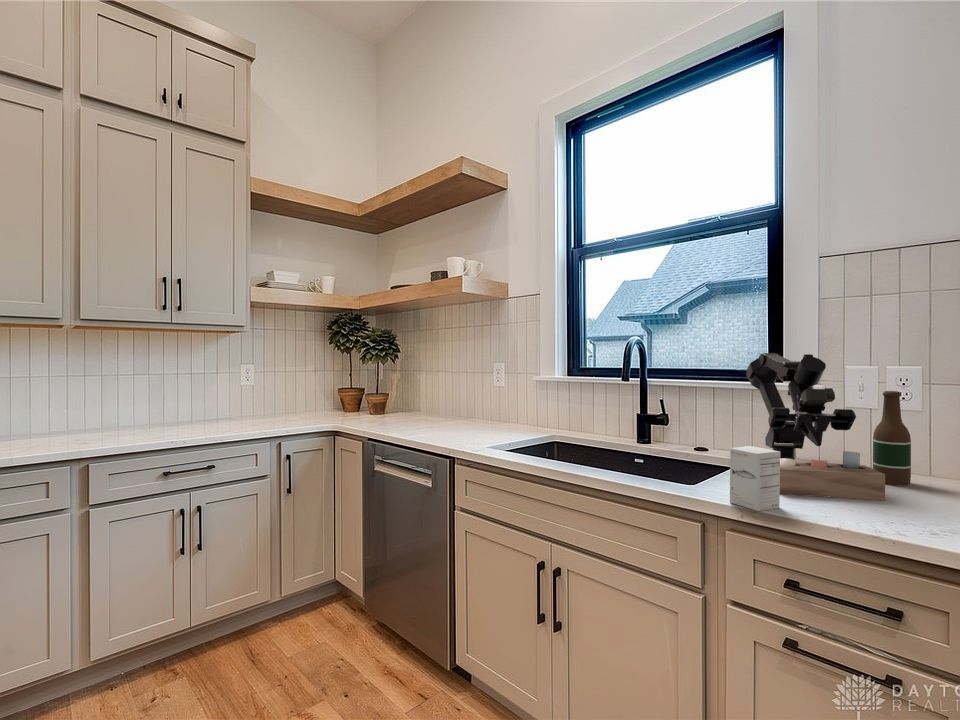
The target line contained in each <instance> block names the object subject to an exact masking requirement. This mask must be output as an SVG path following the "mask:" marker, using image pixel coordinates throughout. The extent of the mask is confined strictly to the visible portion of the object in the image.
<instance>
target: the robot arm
mask: <svg viewBox="0 0 960 720" xmlns="http://www.w3.org/2000/svg"><path fill="white" fill-rule="evenodd" d="M826 366H827V365H826V362H824V361H823V360H822V359H820V358H818V357H816V356H814V355H813V354H812V353H811V354H809V353H808V354H807V353H806V354H803V356H802V358H801V360H800V361H799V360H798V361H796V360H795V361H793V360H790V359H788V358H785V357H783V356H781V355H780V354H779V353H777V352H763V353H760V354H759V356H758V358H756V359H754V360H752V361H751V362H750V363H749V365H748V367H747V369H746V372H745V374H746V378H747V380H748V381H749V383H750V384H751V386H752V387H754V388H756V389H757V390H759V392H760V395H761V397H762V400H763V402H764V405H765V407H766V410H767V412H768V415H769V416H768V419H767V420H768V425H769V429H768V431H767V433H766V436H765V438H764V441H765V442H764V443H765V446H766V447H768V448H771V449H772V450H774V451H780V458H788V459H794V460H795V461H796V449H798V450H800V449H801V450H803V447H804V443H805V439H806V438H807V439H808V440H809V441H810V442H812V443H813V444H814V445H815V446H816V447H821V446H822V443H823V442H822V441H823V434H824V432H827V429H828V427H829V426H830V428H832V429H833V430H835V431H849V430H851V428H852V426H853V424H854V422H855V420H856V418H857V415H856V413H855V411H854V410H853V409H852V408H850V409H848V408H835V409H834V411H833V412H832V413H823V412H824V411H825V410H826V404H827V403H832V402H834V401H835V400H836V393H835V391H834V389H833V388H832V387H830V388H829V387H825V388H814V386H817V385H818V384H819V382H820V380H821V378H822V376H823V374H824V372H825V370H826V368H827V367H826ZM777 378H778V380H780V382H782V383H784V382H785V383H787V382H788V384H787V388H788V389H787V396H790V398H791V401H792V406H791V408H792V410H793V411H794V413H790V412H791V411H790V408H789V407H786V406H785V404H784V401H783V399H782V397H781V395H780V392H779V390H778V388H777V387H778V386H776V381H777ZM805 437H806V438H805Z"/></svg>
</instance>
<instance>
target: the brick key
mask: <svg viewBox="0 0 960 720" xmlns="http://www.w3.org/2000/svg"><path fill="white" fill-rule="evenodd" d="M810 463H811V467H827V464H828V461H827V460H823V459H810Z"/></svg>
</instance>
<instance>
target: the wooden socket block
mask: <svg viewBox="0 0 960 720" xmlns="http://www.w3.org/2000/svg"><path fill="white" fill-rule="evenodd" d="M788 494H793V495H792V496H805V495H810V496H809V497H821V496H830V497H829V498H838V497H842V498H843V499H854V498H856V500H858V499H859V500H870V499H871V500H873V501H885V500H886V484H885V474H883V473H881V472H879V471H876V470H874V469H873V467H870V466H867V465H862V464H860V469H849V468H843V463H827V467H811V462H799V461H798V462H797V461H795V466H786V465H780V495H788ZM811 495H813V496H811ZM842 498H841V499H842Z"/></svg>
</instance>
